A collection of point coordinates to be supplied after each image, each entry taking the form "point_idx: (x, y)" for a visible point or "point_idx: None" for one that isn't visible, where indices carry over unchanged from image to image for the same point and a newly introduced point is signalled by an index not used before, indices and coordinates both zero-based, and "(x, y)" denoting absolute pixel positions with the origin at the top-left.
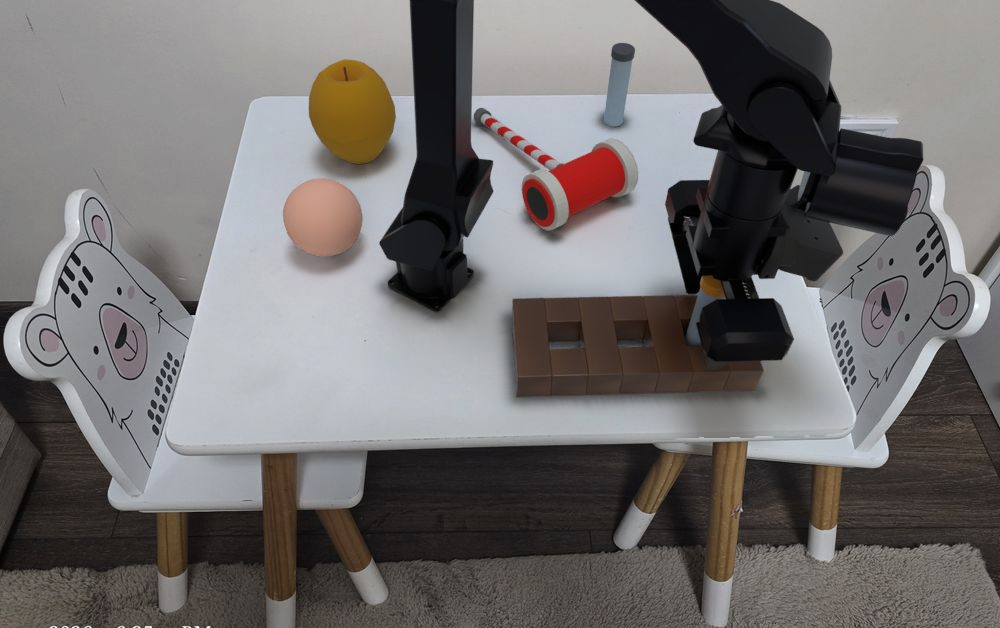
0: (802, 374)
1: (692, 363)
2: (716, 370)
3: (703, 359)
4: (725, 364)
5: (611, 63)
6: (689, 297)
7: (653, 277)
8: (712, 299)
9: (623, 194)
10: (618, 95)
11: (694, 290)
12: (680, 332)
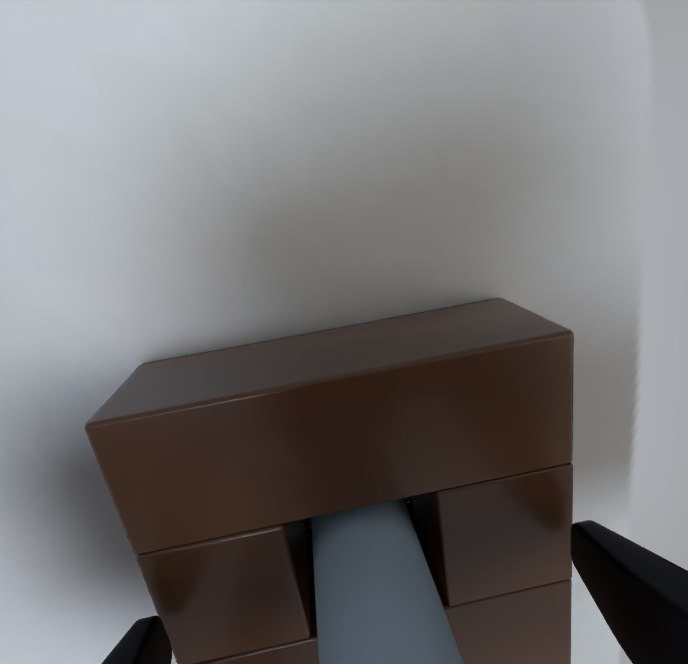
0: (417, 95)
1: (531, 585)
2: (566, 510)
3: (513, 553)
4: (651, 553)
5: None
6: (176, 618)
7: (25, 614)
8: None
9: None
10: None
11: (158, 654)
12: None
